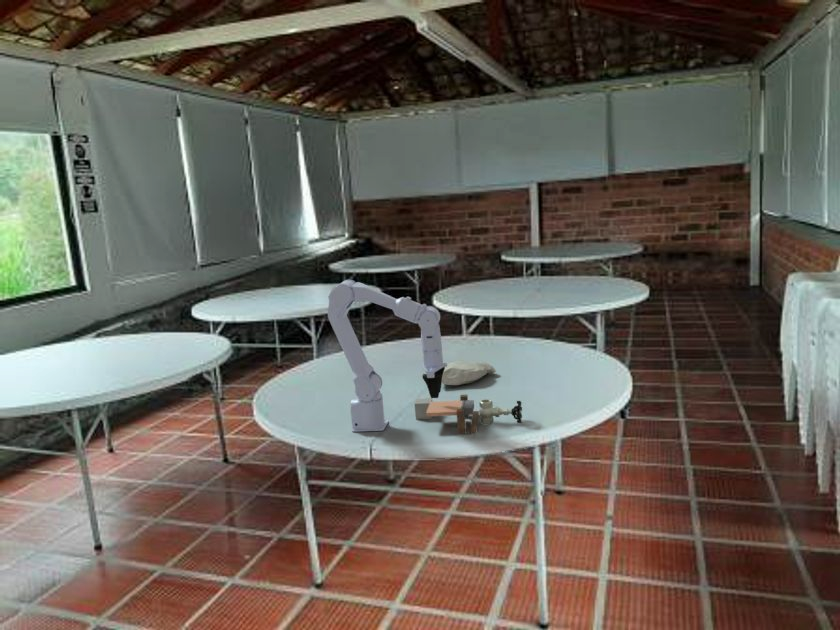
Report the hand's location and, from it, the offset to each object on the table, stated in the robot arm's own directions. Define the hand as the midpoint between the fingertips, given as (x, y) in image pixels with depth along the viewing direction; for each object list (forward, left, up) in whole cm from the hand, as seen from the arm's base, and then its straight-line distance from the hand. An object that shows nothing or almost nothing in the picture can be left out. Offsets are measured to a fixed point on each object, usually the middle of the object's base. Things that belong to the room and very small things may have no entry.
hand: (435, 395), depth 190 cm
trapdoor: (+4, 0, -5) cm, 7 cm away
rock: (+3, +45, -10) cm, 46 cm away
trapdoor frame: (+9, 0, -9) cm, 13 cm away
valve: (+18, 0, -10) cm, 20 cm away
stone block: (-5, +8, -9) cm, 13 cm away
